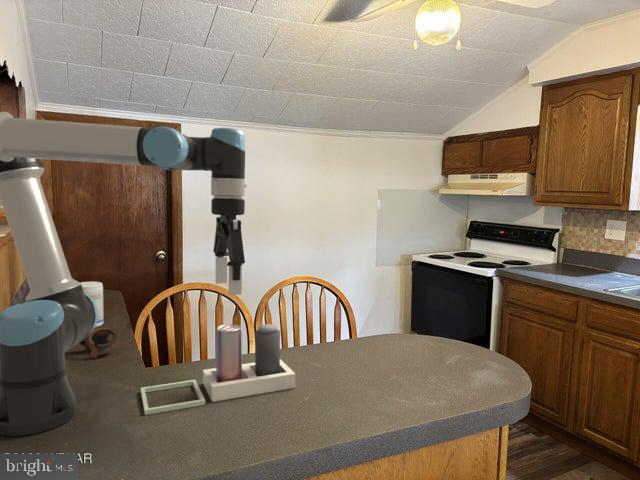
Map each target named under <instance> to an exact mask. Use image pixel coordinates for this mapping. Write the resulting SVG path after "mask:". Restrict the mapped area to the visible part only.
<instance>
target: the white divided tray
mask: <svg viewBox="0 0 640 480" xmlns="http://www.w3.org/2000/svg"><path fill="white" fill-rule="evenodd" d="M202 385H203V386H204V389H205V390H206V393H207V394H208V396H209V398H210V400H211V402H212V403H215V402H220V401H227V400H231V399H237V398H245V397H249V396H250V397H251V396H254V395H255V396H256V395H262V394H267V393H272V392H278V391H284V390H289V389H290V390H292V389H296V373H295V372H294V371H293V370H292V369H291V368H290V367H289V366H288V365H287V364H286V363H285V362H284V361H283V360H282V359H281V358H280V373H278V374H272V375H265V376H259V377H257V376H256V374H255V362H250V363H249V362H248V363H242V379H240V380H233V381H227V382H220V383H217V382H216V367H214V368H213V367H212V368H207V369H203V370H202Z"/></svg>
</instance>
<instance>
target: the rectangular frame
mask: <svg viewBox="0 0 640 480" xmlns="http://www.w3.org/2000/svg"><path fill="white" fill-rule="evenodd" d="M190 386H192V387H193V389H194V391H195V394H196V396H197V398H198V399H196V400H189V401H183V402H178V403H172V404H166V405H160V406H155V407H149V404H148V400H147V393H151V392H158V391H163V390H164V391H165V390H171V389H177V388H183V387H190ZM145 392H146V393H145ZM140 396H141V401H142V406H143V411H144V416H149V415H153V414H159V413H166V412H170V411H172V412H173V411H176V410H177V411H178V410H183V409H188V408H194V407H200V406H205V405H206V399H205V397H204V395H203V393H202V390H201V389H200V386H199V384H198V382H197V380H196V379H190V380H183V381H178V382H170V383H165V384H157V385H152V386H151V385H150V386H143V387H140Z"/></svg>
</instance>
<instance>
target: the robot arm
mask: <svg viewBox="0 0 640 480" xmlns="http://www.w3.org/2000/svg"><path fill="white" fill-rule="evenodd" d="M245 138H246V137H245V133H244V131H242V130H241V129H238V128H231V127H215V128H213V129H211V134H210V136H206V137H199V136H187V135H185V134H183V133H181V132H180V131H179V130H177V129H175V128H174V127H168V126H156V127H143V126H133V125H132V126H130V125H129V126H128V125H116V124H103V123H88V122H76V121H74V122H73V121H64V120H62V121H61V120H48V119H33V118H21V117H18V116H16V115H12V114H11V113H9V112H7V111H0V203H1V206H2V209H3V213H4V216H5V218H6V220H7V225H8V227H9V231H10V233H11V236H12V239H13V242H14V245H15V248H16V251H17V255H18V257H19V259H20V264H21V267H22V269H23V272H24V275H25V278H26V282H27V284H28V287H29V292H28V293H27V295H26V297H25V301H23V303H16V304H14V305H11V306H9V307H7V308H5V309H3V310H2V311H1V312H0V436H5V437H20V436H21V437H22V436H30V435H34V434H38V433H39V434H40V433H44V432H46V431H49V430H53V429H54V428H57V427H60V426H61V425H62V426H63V424H65V423H66V422H68V421H70V420H71V419H72V418H74V416H75V415H76V413H77V399H76V396H75V394H74V391H73V390H72V388H71V386H70V383H69V380H68V378H67V375H66V353H67V352H68V351H69V350H71V349H72V348H74V346H76V345H78V344H80V342H81V341H83V340H84V339H86V338H87V337H88V336H89V334H90V333H91V332H92V331H94V330H95V328H96V327H95V326H96V324H97V321H98V309H97V306H96V303H95V302H94V300H93V299H92V298H91V297H90V296H87V295H86V294H85V293H84V291H83V288H82V285H81V283H80V282H79V281H77V280H76V279H74V278H73V277H72V275H71V272H70V269H69V266H68V263H67V262H68V261H67V260H66V257H65V254H64V250H63V246H62V244H61V242H60V241H61V240H60V238H59V235H58V232H57V229H56V225H55V223H54V219H53V217H52V213H51V210H50V207H49V204H48V201H47V198H46V195H45V192H44V188H43V185H42V183H41V179H40V178H41V176H42V175H43V173H44V171H45V166H44V164H43V160H52V161H53V160H54V161H69V162H84V163H101V164H117V165H131V166H132V165H133V166H144V167H156V168H157V167H158V168H159V169H161V170H166V171H204V172H205V171H206V172H208V171H209V172H210V171H211V179H210V184H211V185H210V189H211V190H210V193H211V194H210V195H211V196H213V198H212V199H211V200H210V201H211V203H210V204H211V205H210V206H211V214H212V215H215V216H216V218H215V221H216V223H215V224H216V226H215V234H214V243H213V249H212V251H213V254H214V256H215V284H228V295H229V296H233V295H234V296H235V295H237V296H239V295H242V286H243V285H242V278H243V277H242V276H243V275H242V267H243V265H244V264H245V263H246V260H245V252H244V250H245V249H244V243H243V242H244V241H243V236H242V221H241V220H240V219H237V216H242V215H245V210H246V207H245V205H246V202H245V200H244V198H243V197H245V189H246V188H247V186H248V184H247V183H246V181H245V178H246V177H245V176H246V143H245V142H246V139H245ZM228 259H229V261H228Z"/></svg>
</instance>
